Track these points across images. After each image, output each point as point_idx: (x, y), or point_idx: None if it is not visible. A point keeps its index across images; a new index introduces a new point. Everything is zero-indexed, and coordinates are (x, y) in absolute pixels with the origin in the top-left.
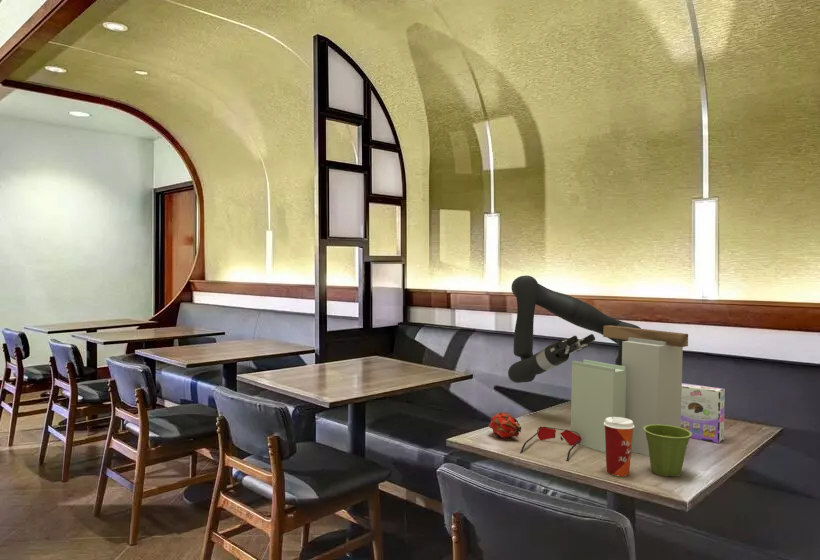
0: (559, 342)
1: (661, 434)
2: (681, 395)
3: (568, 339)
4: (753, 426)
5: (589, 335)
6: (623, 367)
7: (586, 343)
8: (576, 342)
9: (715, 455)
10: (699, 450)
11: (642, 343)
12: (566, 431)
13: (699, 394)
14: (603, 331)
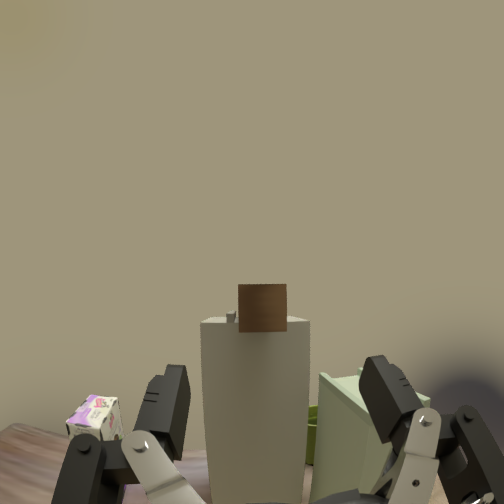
0: (472, 416)
1: (310, 434)
2: (107, 438)
3: (408, 400)
4: (14, 433)
5: (180, 381)
6: (325, 374)
7: (181, 455)
8: (364, 399)
9: (194, 463)
10: (188, 475)
11: (289, 318)
12: None
13: (113, 418)
14: (286, 308)
